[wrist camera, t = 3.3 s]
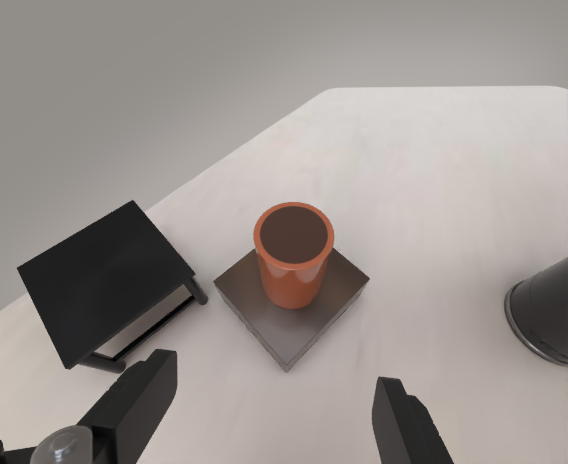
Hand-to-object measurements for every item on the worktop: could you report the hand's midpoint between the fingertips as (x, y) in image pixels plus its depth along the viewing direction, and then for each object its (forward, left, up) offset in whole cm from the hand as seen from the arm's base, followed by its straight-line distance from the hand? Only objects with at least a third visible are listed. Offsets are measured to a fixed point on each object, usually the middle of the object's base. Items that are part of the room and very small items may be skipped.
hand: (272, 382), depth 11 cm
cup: (-8, -7, -15) cm, 18 cm away
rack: (+5, -19, -20) cm, 28 cm away
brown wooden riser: (-8, -7, -20) cm, 23 cm away
